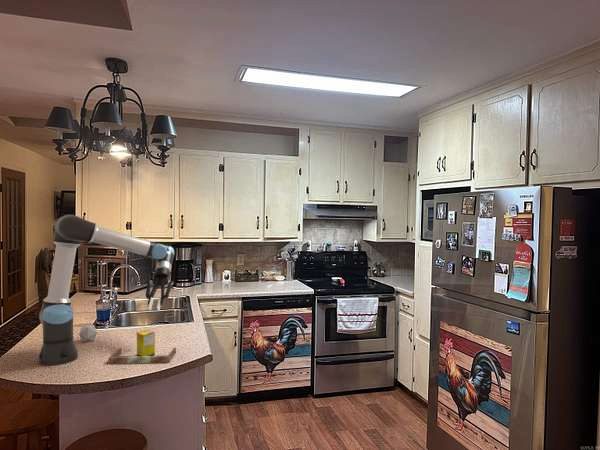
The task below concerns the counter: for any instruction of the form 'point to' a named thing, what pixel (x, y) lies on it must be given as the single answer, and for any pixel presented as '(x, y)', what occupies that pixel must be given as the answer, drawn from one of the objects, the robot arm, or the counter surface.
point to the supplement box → (145, 343)
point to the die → (88, 333)
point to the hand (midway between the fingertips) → (153, 309)
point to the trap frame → (140, 358)
